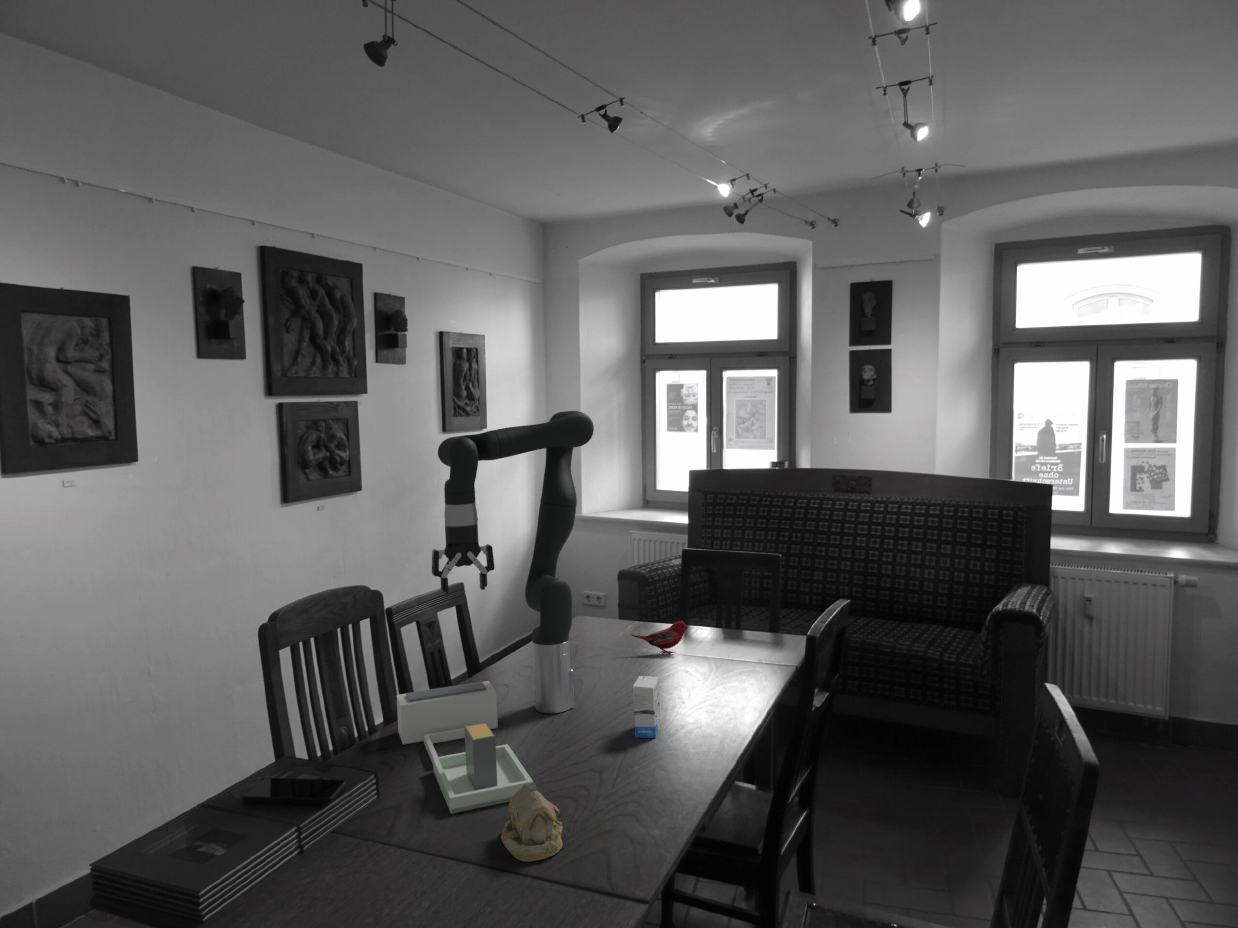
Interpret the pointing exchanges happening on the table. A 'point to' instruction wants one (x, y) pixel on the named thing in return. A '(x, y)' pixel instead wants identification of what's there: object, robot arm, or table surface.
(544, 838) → the ceramic model
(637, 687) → the ink box
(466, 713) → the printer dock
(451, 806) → the tray
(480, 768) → the block
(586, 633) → the table surface
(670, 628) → the decorative bird figurine
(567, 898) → the table surface
